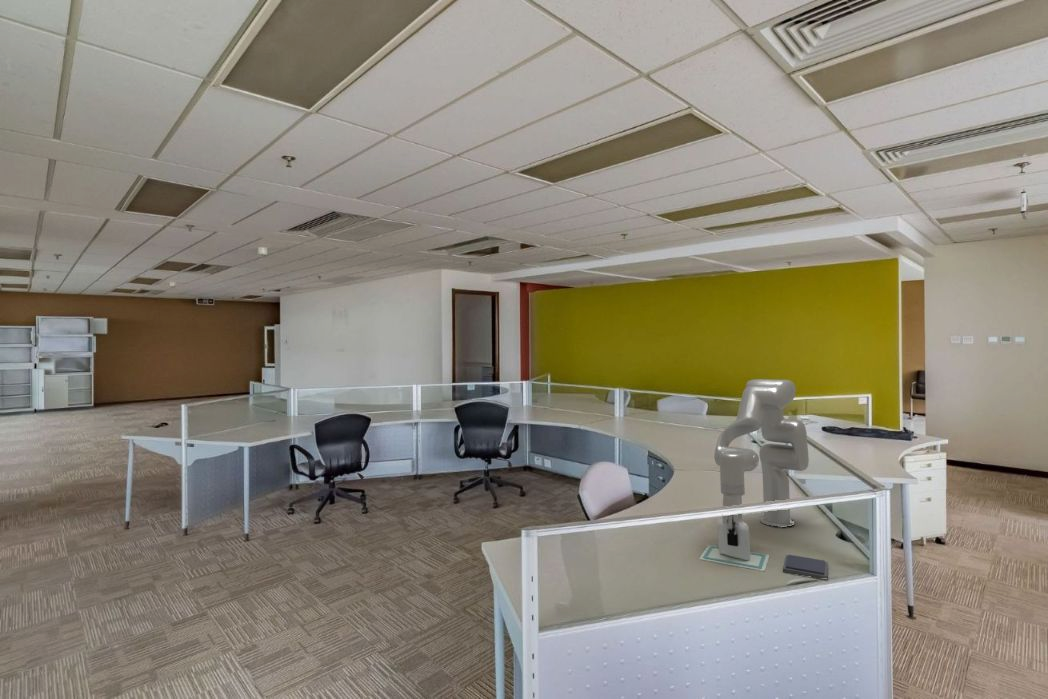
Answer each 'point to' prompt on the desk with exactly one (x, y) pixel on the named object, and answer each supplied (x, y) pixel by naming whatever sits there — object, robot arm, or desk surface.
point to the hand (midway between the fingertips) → (734, 541)
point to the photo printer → (743, 540)
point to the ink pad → (805, 566)
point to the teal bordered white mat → (735, 559)
